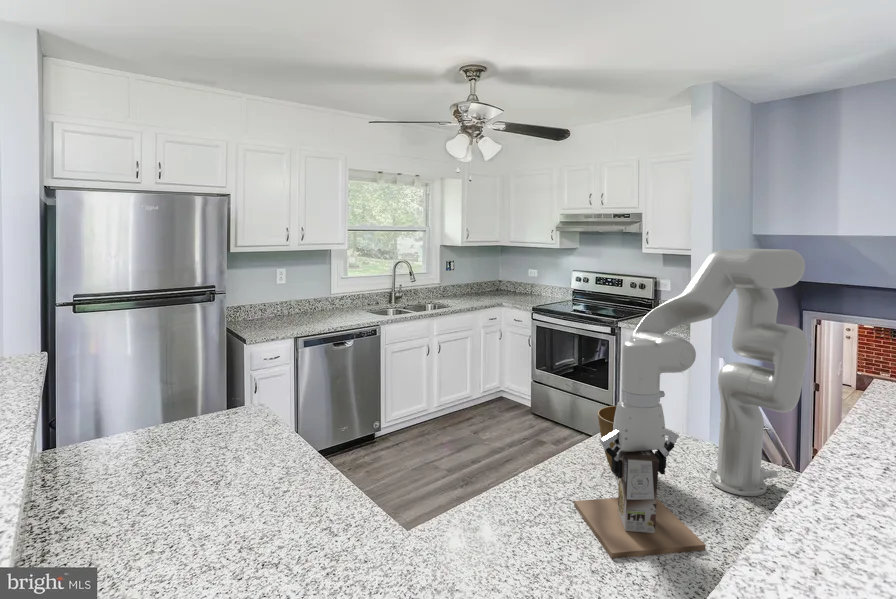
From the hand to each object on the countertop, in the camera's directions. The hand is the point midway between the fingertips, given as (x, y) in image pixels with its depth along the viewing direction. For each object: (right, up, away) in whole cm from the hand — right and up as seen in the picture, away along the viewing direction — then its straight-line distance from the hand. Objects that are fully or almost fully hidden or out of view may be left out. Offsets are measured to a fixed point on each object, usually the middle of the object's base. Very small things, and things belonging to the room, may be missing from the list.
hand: (638, 473), depth 110 cm
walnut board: (0, -12, +1) cm, 12 cm away
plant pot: (+6, -9, +27) cm, 29 cm away
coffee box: (0, -11, +1) cm, 11 cm away
